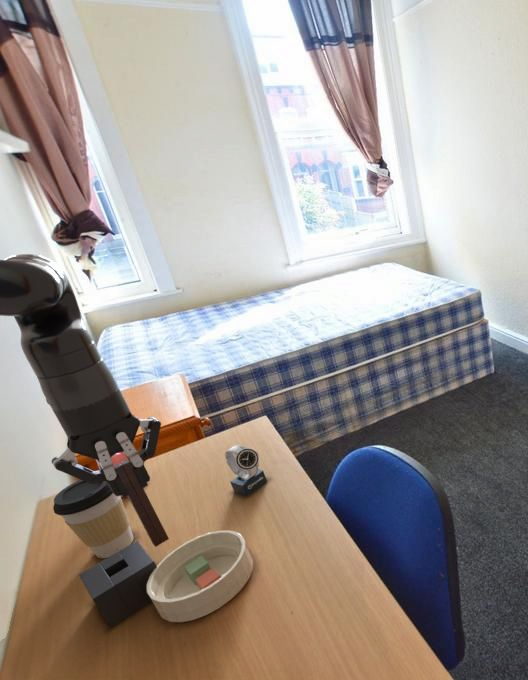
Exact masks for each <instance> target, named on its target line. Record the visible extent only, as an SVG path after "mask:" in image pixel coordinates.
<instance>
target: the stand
mask: <svg viewBox="0 0 528 680" xmlns="http://www.w3.org/2000/svg"><path fill="white" fill-rule="evenodd" d="M156 568H157V564H156V562H155V561H154V560H153V558H152V557H151V556H150V555H149V553H148V552H147V551H146V549H145V548H144V546H143V545H142V544H141V543H140V542H139V541H138V540H136V541H133V542H132V543H131V544H130V545H129V546H127V547H125V548H124V549H122V550H120V551H119V552H117V553H115V554H114V555H112V556H110V557H108V558H104V559H103V560H101V561H100V562H98V563H96V564H95V565H93V566H91V567H89V568H87V569H86V570H84V571H82V572H80V573H79V574H78V576H79V578H80V581H81V582H82V584H83V586H84V587H85V589H86V590H87V592H88V594H89V596H90V598H91V599H92V601H93V603H94V604H95V605H96V607H97V610H99V612H100V613H101V615H102V616H103V618H104V620H105V621H106V623H107V625H108V626H109V627H110V628H112V627H114V626H116V625H117V624H119V623H120V622H122V621H123V620H125V619H126V618H127V617H130V616H131V615H132V614H135V612H137V611H138V610H140V609H142V608H143V607H144V606H145V605H147V604H149V603H150V602H152V601H151V599H150V597H149V595H148V594H147V582H148V580H149V577H150V575H151V573H152V572H153V570H154V569H156Z"/></svg>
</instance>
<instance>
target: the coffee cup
mask: <svg viewBox="0 0 528 680" xmlns="http://www.w3.org/2000/svg"><path fill="white" fill-rule="evenodd" d="M52 509H53V512H54V514H55V515H57V516H61V517H62V519H63V520H64V523H65V524H66V525H67V526H68V527H69V529H70V530H71V531H72V532H73V533H74V534H75V535H76V537H77V538H79V540H80V541H81V542H82V543H83V544H84V545H85V546H86V547H87V548H89V550H90V551H92V553H93V554H94V555H95V556H96V557H97V558H99V559H107V558H108V557H110V556H112V555H114V554H115V553H117V552H119V551H120V550H122V549H124V548H125V547H127V546H129V545H131V544H132V543H133V542H134V535H133V532H132V528H131V526H130V520H129V517H128V515H127V514H128V513H127V511H126V509H125V505H124V503H123V500H122V497H121V496H119V497H117V496H116V495H115V494H114V493H113V492H112V490H111V489H110V487H109V485H108V483H107V481H100V482H98V483H96V484H91V483H88V482H86V481H83V480H81V479H78V480H77V481H75V482H73V483H71V484H69V485H68V486H65V488H62V490H60V491H59V492H58V493H57V494H56V495H55V497H54V499H53V507H52Z"/></svg>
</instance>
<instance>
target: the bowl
mask: <svg viewBox="0 0 528 680" xmlns="http://www.w3.org/2000/svg"><path fill="white" fill-rule="evenodd" d="M200 556H202V557H203V558H204V559H205V560H206V561H207V562H208V563H209V566H210V568H214V569H215V570H216V571H217V572H218V574H219V575H220V576H221V578H220V579H218V580H217V581H215V582H214V583H212V584H211V585H210V586H208V587H206V588H204V589H202V590H200V589H199V587H198V585H197V586H196V585H195V584H194V583H193V582H192V580H191V579H190V578H189V576H188V574H187V572H186V570H185V568H184V566H186V565H187V564H189V563H191V562H192V561H194V560H195V559H197V558H198V557H200ZM156 566H157V568H156V569H154V570H153V572H152V573H151V575H150V577H149V580H148V582H147V594H148V595H149V597H150V599H151V601H150V602H152V604H153V606H154V608H155V610H156V611H157V613H158V615H159V616H160V617H161V619H163V620H166V621H167V622H170V623H184V622H190V621H194V620H197V619H200V618H202V617H205V616H208V615H209V614H211V613H213V612H215V611H217V610H218V609H220V608H221V607H223V606H224V605H225V604H227V603H228V602H230V601H231V600H232V599H233V598H235V596H236V595H237V594H238V593H239V592H240V591H241V590H242V589H243V588H244V586H245V585H246V584H247V582H248V581H249V580H250V577H251V575H252V573H253V568H254V560H253V557H252V554H251V551H250V550H249V547H248V545H247V542H246V540H245V538H244V536H243V535H241V534H240V533H239V532H237V531H234V530H224V529H221V530H215V531H210V532H208V533H207V532H206V533H204V534H201V535H198V536H196V537H194V538H192V539H189V540H187V541H186V542H184V543H183V544H181V545H179V546H177V547H176V548H175V549H173V550H172V551H171V552H170V553H168V554H167V555H166V556H165V557H163V558H162V560H161V561H160V562H159V563H158V564H156Z"/></svg>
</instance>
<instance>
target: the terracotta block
mask: <svg viewBox="0 0 528 680" xmlns="http://www.w3.org/2000/svg"><path fill="white" fill-rule="evenodd" d="M220 578H221V576H220V575H219V574H218V572H217V571H216V570H215V569H214V568H211V569H210V570H208V571H207V572H206V573H204V574H203V575H201V576H200V577H198V578H197V579H195V581H196V583H197V585H198V587H199V589H200V590H202V589H204V588H206V587H208V586H210V585H211V584H212V583H214V582H215V581H217V580H218V579H220Z"/></svg>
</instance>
